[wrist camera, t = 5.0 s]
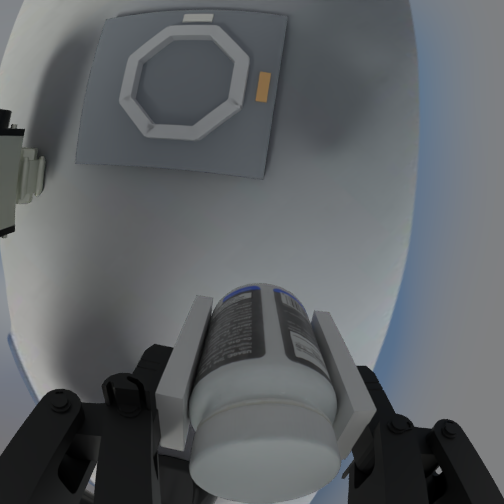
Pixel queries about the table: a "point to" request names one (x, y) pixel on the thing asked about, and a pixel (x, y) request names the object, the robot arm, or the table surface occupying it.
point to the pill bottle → (262, 401)
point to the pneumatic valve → (16, 172)
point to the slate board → (184, 91)
